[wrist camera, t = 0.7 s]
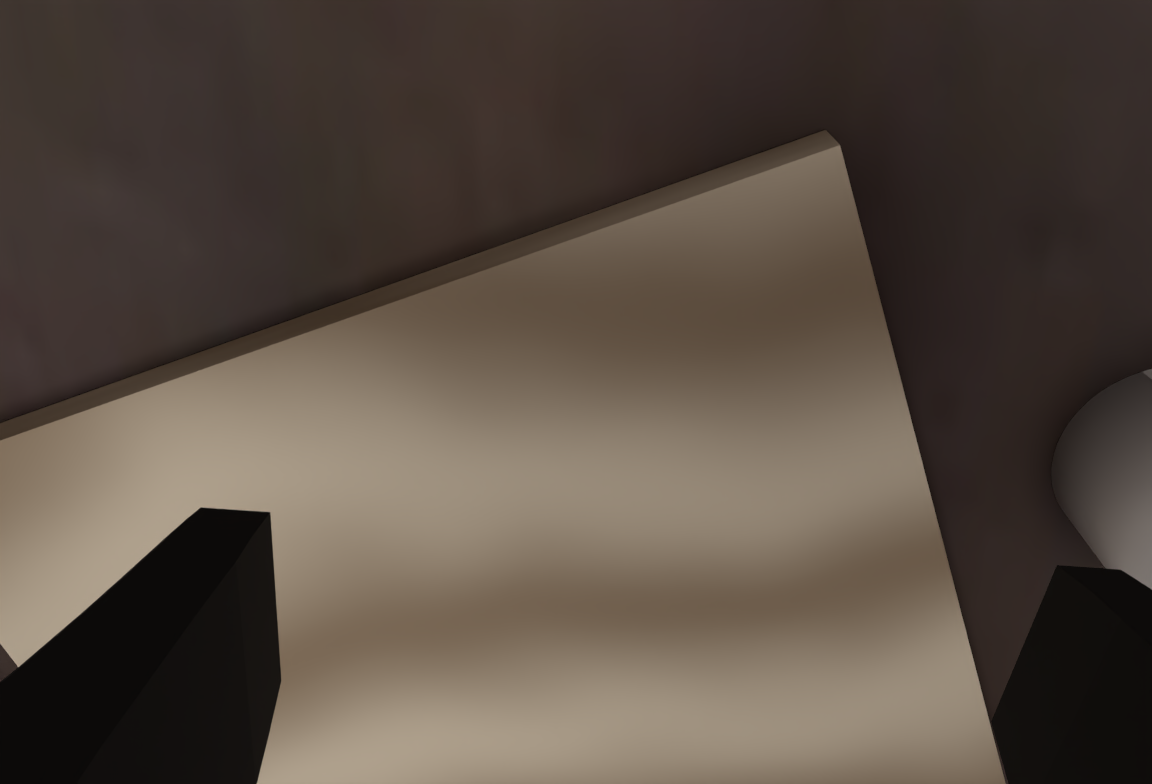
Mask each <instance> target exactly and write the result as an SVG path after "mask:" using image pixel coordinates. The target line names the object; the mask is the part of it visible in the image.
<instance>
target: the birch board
mask: <svg viewBox="0 0 1152 784" xmlns="http://www.w3.org/2000/svg"><path fill="white" fill-rule="evenodd" d="M201 507H202V508H216V509H231V510H246V511H261V512H270V515H271V530H272V545H273V560H274V576H275V591H276V606H277V621H278V636H279V652H280V667H281V685H280V689H279V693H278V698H277V702H276V706H275V711H274V715H273V719H272V724H271V728H270V732H269V737H268V741H267V745H266V749H265V753H264V757H263V761H262V765H261V769H260V773H259V777H258V781H257V784H1005V780H1004V776H1003V772H1002V768H1001V764H1000V761H999V757H998V753H997V749H996V745H995V741H994V737H993V733H992V730H991V726H990V722H989V718H988V714H987V710H986V706H985V703H984V699H983V695H982V691H981V687H980V683H979V679H978V676H977V672H976V668H975V664H974V660H973V656H972V652H971V649H970V645H969V641H968V637H967V633H966V629H965V625H964V622H963V618H962V614H961V610H960V606H959V602H958V598H957V595H956V591H955V587H954V583H953V579H952V575H951V571H950V567H949V564H948V560H947V556H946V552H945V548H944V544H943V540H942V537H941V533H940V529H939V525H938V521H937V517H936V513H935V510H934V506H933V502H932V498H931V494H930V490H929V486H928V483H927V479H926V475H925V471H924V467H923V463H922V459H921V456H920V452H919V448H918V444H917V440H916V436H915V432H914V429H913V425H912V421H911V417H910V413H909V409H908V405H907V401H906V398H905V394H904V390H903V386H902V382H901V378H900V374H899V371H898V367H897V363H896V359H895V355H894V351H893V347H892V344H891V340H890V336H889V332H888V328H887V324H886V320H885V317H884V313H883V309H882V305H881V301H880V297H879V293H878V290H877V286H876V282H875V278H874V274H873V270H872V266H871V263H870V259H869V255H868V251H867V247H866V243H865V239H864V235H863V232H862V228H861V224H860V220H859V216H858V212H857V208H856V205H855V201H854V197H853V193H852V189H851V185H850V181H849V178H848V174H847V170H846V166H845V162H844V158H843V154H842V151H841V147H840V144H839V143H838V142H837V141H836V140H835V139H834V138H833V137H832V136H831V135H830V134H829V133H828V132H827V131H826V130H823V131H821V132H818V133H815V134H812V135H809V136H806V137H804V138H801V139H798V140H795V141H792V142H790V143H787V144H784V145H781V146H778V147H776V148H773V149H770V150H767V151H764V152H761V153H759V154H756V155H753V156H750V157H747V158H745V159H742V160H739V161H736V162H733V163H731V164H728V165H725V166H722V167H719V168H716V169H714V170H711V171H708V172H705V173H702V174H700V175H697V176H694V177H691V178H688V179H686V180H683V181H680V182H677V183H674V184H671V185H669V186H666V187H663V188H660V189H657V190H655V191H652V192H649V193H646V194H643V195H641V196H638V197H635V198H632V199H629V200H626V201H624V202H621V203H618V204H615V205H612V206H610V207H607V208H604V209H601V210H598V211H596V212H593V213H590V214H587V215H584V216H581V217H579V218H576V219H573V220H570V221H567V222H565V223H562V224H559V225H556V226H553V227H551V228H548V229H545V230H542V231H539V232H536V233H534V234H531V235H528V236H525V237H522V238H520V239H517V240H514V241H511V242H508V243H506V244H503V245H500V246H497V247H494V248H491V249H489V250H486V251H483V252H480V253H477V254H475V255H472V256H469V257H466V258H463V259H461V260H458V261H455V262H452V263H449V264H446V265H444V266H441V267H438V268H435V269H432V270H430V271H427V272H424V273H421V274H418V275H416V276H413V277H410V278H407V279H404V280H401V281H399V282H396V283H393V284H390V285H387V286H385V287H382V288H379V289H376V290H373V291H371V292H368V293H365V294H362V295H359V296H356V297H354V298H351V299H348V300H345V301H342V302H340V303H337V304H334V305H331V306H328V307H326V308H323V309H320V310H317V311H314V312H311V313H309V314H306V315H303V316H300V317H297V318H295V319H292V320H289V321H286V322H283V323H281V324H278V325H275V326H272V327H269V328H266V329H264V330H261V331H258V332H255V333H252V334H250V335H247V336H244V337H241V338H238V339H235V340H233V341H230V342H227V343H224V344H221V345H219V346H216V347H213V348H210V349H207V350H205V351H202V352H199V353H196V354H193V355H190V356H188V357H185V358H182V359H179V360H176V361H174V362H171V363H168V364H165V365H162V366H160V367H157V368H154V369H151V370H148V371H145V372H143V373H140V374H137V375H134V376H131V377H129V378H126V379H123V380H120V381H117V382H115V383H112V384H109V385H106V386H103V387H100V388H98V389H95V390H92V391H89V392H86V393H84V394H81V395H78V396H75V397H72V398H70V399H67V400H64V401H61V402H58V403H55V404H53V405H50V406H47V407H44V408H41V409H39V410H36V411H33V412H30V413H27V414H25V415H22V416H19V417H16V418H13V419H10V420H8V421H5V422H2V423H0V644H1V645H2V646H3V648H4V649H5V650H6V652H7V653H8V654H9V655H10V657H11V658H12V659H13V661H14V662H15V663H16V665H17V666H18V667H19V666H20V665H22V664H23V663H24V662H25V661H26V660H27V659H29V658H30V657H31V656H32V655H33V654H34V653H36V652H37V651H38V650H39V649H40V648H41V647H43V646H44V645H45V644H46V643H47V642H48V641H50V640H51V639H52V638H53V637H54V636H55V635H57V634H58V633H59V632H60V631H61V630H62V629H64V628H65V627H66V626H67V625H68V624H69V623H71V622H72V621H73V620H74V619H75V618H76V617H78V616H79V615H80V614H81V613H82V612H83V611H85V610H86V609H87V608H88V607H89V606H90V605H91V604H92V603H94V602H95V601H96V600H97V599H98V598H99V597H100V596H101V595H103V594H104V593H105V592H106V591H107V590H108V589H109V588H110V587H111V586H113V585H114V584H115V583H116V582H117V581H118V580H119V579H120V578H122V577H123V576H124V575H125V574H126V573H127V572H128V571H129V570H130V569H132V568H133V567H134V566H135V565H136V564H137V563H138V562H139V561H140V560H141V559H143V558H144V557H145V556H146V555H147V554H148V553H149V552H150V551H151V550H152V549H154V548H155V547H156V546H157V545H158V544H159V543H160V542H161V541H162V540H163V539H165V538H166V537H167V536H168V535H169V534H170V533H171V532H172V531H173V530H175V529H176V528H177V527H178V526H179V525H180V524H181V523H183V522H184V521H185V520H186V519H187V518H188V517H190V516H191V515H192V514H193V513H194V512H196V511H197V510H198V509H199V508H201Z"/></svg>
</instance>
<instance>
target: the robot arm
mask: <svg viewBox="0 0 1152 784" xmlns="http://www.w3.org/2000/svg"><path fill="white" fill-rule="evenodd" d="M280 685H281V667H280V652H279V636H278V621H277V606H276V591H275V576H274V560H273V545H272V530H271V515H270V512H261V511H246V510H231V509H216V508H202V507H201V508H199V509H198V510H197V511H196V512H194V513H193V514H192V515H191V516H190V517H188V518H187V519H186V520H185V521H184V522H183V523H181V524H180V525H179V526H178V527H177V528H176V529H175V530H173V531H172V532H171V533H170V534H169V535H168V536H167V537H166V538H165V539H163V540H162V541H161V542H160V543H159V544H158V545H157V546H156V547H155V548H154V549H152V550H151V551H150V552H149V553H148V554H147V555H146V556H145V557H144V558H143V559H141V560H140V561H139V562H138V563H137V564H136V565H135V566H134V567H133V568H132V569H130V570H129V571H128V572H127V573H126V574H125V575H124V576H123V577H122V578H120V579H119V580H118V581H117V582H116V583H115V584H114V585H113V586H111V587H110V588H109V589H108V590H107V591H106V592H105V593H104V594H103V595H101V596H100V597H99V598H98V599H97V600H96V601H95V602H94V603H92V604H91V605H90V606H89V607H88V608H87V609H86V610H85V611H83V612H82V613H81V614H80V615H79V616H78V617H76V618H75V619H74V620H73V621H72V622H71V623H69V624H68V625H67V626H66V627H65V628H64V629H62V630H61V631H60V632H59V633H58V634H57V635H55V636H54V637H53V638H52V639H51V640H50V641H48V642H47V643H46V644H45V645H44V646H43V647H41V648H40V649H39V650H38V651H37V652H36V653H34V654H33V655H32V656H31V657H30V658H29V659H27V660H26V661H25V662H24V663H23V664H22V665H20V666H19V667H18V668H17V669H16V670H14V671H13V672H12V673H11V674H10V675H8V676H7V677H6V678H5V679H4V680H2V681H1V682H0V784H257V781H258V777H259V773H260V769H261V765H262V761H263V757H264V753H265V749H266V745H267V741H268V737H269V732H270V728H271V724H272V719H273V715H274V711H275V706H276V702H277V698H278V693H279V689H280ZM991 722H992V726H993V730H994V733H995V737H996V740H997V744H998V747H999V751H1000V755H1001V758H1002V762H1003V765H1004V769H1005V772H1006V776H1007V780H1008V783H1009V784H1152V589H1150V588H1149V587H1147V586H1146V585H1144V584H1143V583H1141V582H1139V581H1138V580H1136V579H1135V578H1133V577H1132V576H1130V575H1128V574H1127V573H1125V572H1124V571H1122V570H1118V569H1103V568H1089V567H1074V566H1059V565H1057V567H1056V569H1055V572H1054V574H1053V576H1052V579H1051V581H1050V583H1049V586H1048V588H1047V591H1046V593H1045V595H1044V598H1043V600H1042V602H1041V605H1040V607H1039V610H1038V612H1037V614H1036V617H1035V619H1034V622H1033V624H1032V626H1031V629H1030V631H1029V633H1028V636H1027V638H1026V641H1025V643H1024V645H1023V648H1022V650H1021V652H1020V655H1019V657H1018V660H1017V662H1016V664H1015V667H1014V669H1013V671H1012V674H1011V676H1010V679H1009V681H1008V683H1007V686H1006V688H1005V690H1004V693H1003V695H1002V698H1001V700H1000V702H999V705H998V707H997V709H996V712H995V714H994V717H993V719H992V721H991Z"/></svg>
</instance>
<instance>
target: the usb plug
mask: <svg viewBox="0 0 1152 784" xmlns="http://www.w3.org/2000/svg"><path fill="white" fill-rule="evenodd" d="M1051 481H1052V488H1053V491H1054V495H1055V498H1056V500H1057V502H1058V504H1059V506H1060V508H1061V509H1062V510H1063V512H1064V513H1065V515H1066V516H1067V517H1068V519H1069V520H1070V521H1071V523H1072V524H1073V525H1074V527H1075V528H1076V529H1077V531H1078V532H1079V533H1080V535H1081V536H1082V537H1083V539H1084V540H1085V541H1086V543H1087V544H1088V545H1089V547H1090V548H1091V549H1092V551H1093V552H1094V553H1095V555H1096V556H1097V558H1098V559H1099V560H1100V562H1101V563H1102V564H1103V566H1104V567H1105V568H1106V569H1118V570H1122V571H1124V572H1125V573H1127V574H1128V575H1130V576H1132V577H1133V578H1135V579H1136V580H1138V581H1139V582H1141V583H1143V584H1144V585H1146V586H1147V587H1149V588H1150V589H1152V369H1149V370H1146V371H1143V372H1140V373H1137V374H1134V375H1131V376H1128V377H1126V378H1124V379H1122V380H1120V381H1118V382H1116V383H1114V384H1112V385H1111V386H1109V387H1107V388H1106V389H1104V390H1102V391H1101V392H1100V393H1098V394H1097V395H1096V396H1094V397H1093V398H1092V399H1090V400H1089V401H1088V402H1087V403H1086V404H1085V405H1084V406H1083V407H1082V408H1081V409H1080V410H1079V411H1078V412H1077V413H1076V414H1075V416H1074V417H1073V418H1072V419H1071V420H1070V422H1069V423H1068V425H1067V426H1066V428H1065V429H1064V431H1063V433H1062V435H1061V437H1060V439H1059V441H1058V443H1057V446H1056V449H1055V451H1054V455H1053V460H1052V465H1051Z"/></svg>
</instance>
